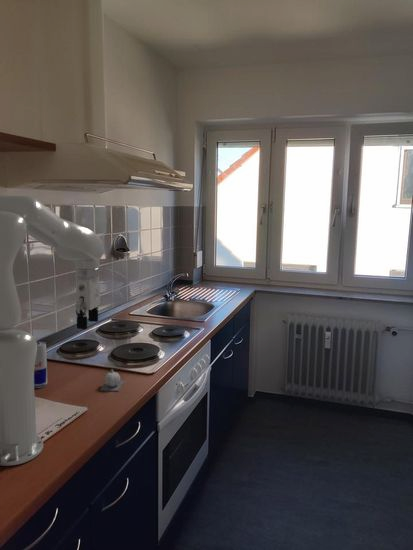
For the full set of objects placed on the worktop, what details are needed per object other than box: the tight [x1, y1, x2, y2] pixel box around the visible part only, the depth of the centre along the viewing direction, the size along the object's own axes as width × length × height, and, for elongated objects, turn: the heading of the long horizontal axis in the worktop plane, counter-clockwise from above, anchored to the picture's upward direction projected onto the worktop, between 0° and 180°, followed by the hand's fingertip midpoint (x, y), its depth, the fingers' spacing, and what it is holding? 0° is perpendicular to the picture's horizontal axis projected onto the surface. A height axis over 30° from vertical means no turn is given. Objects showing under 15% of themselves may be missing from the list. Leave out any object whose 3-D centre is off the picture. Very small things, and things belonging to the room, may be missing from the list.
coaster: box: [100, 380, 125, 392], centre depth 147 cm, size 8×6×1 cm
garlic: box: [103, 369, 121, 387], centre depth 147 cm, size 6×5×5 cm
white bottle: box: [34, 341, 48, 389], centre depth 145 cm, size 5×5×15 cm
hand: (87, 324), depth 141 cm, fingers open, 9 cm apart
